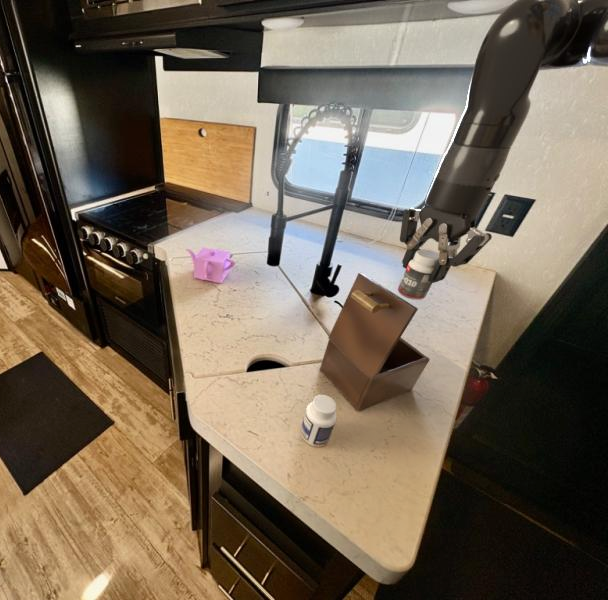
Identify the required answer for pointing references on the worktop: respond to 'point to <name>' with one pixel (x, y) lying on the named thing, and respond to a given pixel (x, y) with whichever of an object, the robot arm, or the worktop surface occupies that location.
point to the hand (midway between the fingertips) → (420, 273)
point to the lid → (370, 324)
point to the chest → (388, 383)
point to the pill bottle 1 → (319, 421)
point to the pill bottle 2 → (418, 275)
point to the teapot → (211, 264)
